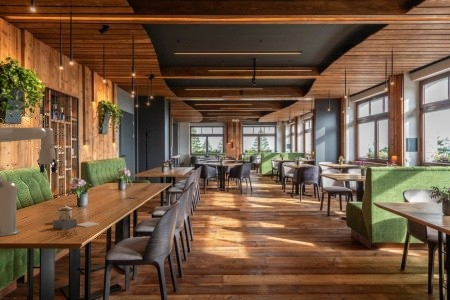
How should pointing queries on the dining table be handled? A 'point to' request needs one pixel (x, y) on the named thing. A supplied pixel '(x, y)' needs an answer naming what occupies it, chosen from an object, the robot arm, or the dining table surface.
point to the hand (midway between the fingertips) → (48, 172)
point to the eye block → (64, 224)
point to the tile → (87, 224)
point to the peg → (64, 214)
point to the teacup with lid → (69, 211)
